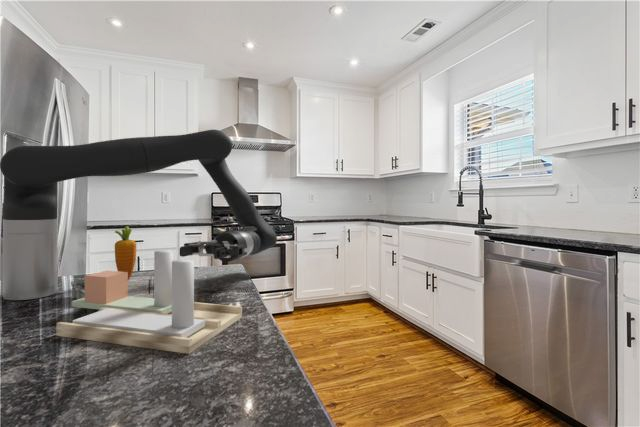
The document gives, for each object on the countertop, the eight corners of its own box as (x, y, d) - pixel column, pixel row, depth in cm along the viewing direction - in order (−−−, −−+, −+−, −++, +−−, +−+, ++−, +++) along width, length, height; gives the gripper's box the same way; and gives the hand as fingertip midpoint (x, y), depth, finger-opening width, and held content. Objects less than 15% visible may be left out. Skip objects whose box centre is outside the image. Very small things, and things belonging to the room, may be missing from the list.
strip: (72, 326, 53) (72, 258, 52) (105, 314, 58) (105, 253, 58) (181, 340, 48) (181, 265, 48) (205, 325, 54) (205, 258, 53)
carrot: (126, 285, 85) (126, 227, 84) (109, 284, 86) (109, 226, 85) (140, 281, 89) (140, 226, 89) (124, 280, 90) (124, 225, 90)
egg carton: (122, 300, 73) (122, 282, 73) (80, 307, 67) (80, 287, 67) (107, 291, 80) (107, 274, 80) (69, 297, 74) (69, 279, 74)
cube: (84, 301, 63) (84, 275, 62) (107, 294, 67) (107, 270, 67) (106, 303, 61) (106, 277, 61) (127, 296, 66) (127, 272, 66)
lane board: (56, 335, 52) (56, 323, 52) (135, 306, 68) (135, 296, 68) (189, 353, 46) (189, 339, 46) (241, 317, 62) (242, 306, 62)
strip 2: (71, 306, 63) (71, 249, 62) (99, 298, 69) (99, 245, 68) (161, 316, 58) (161, 254, 58) (183, 306, 64) (183, 249, 64)
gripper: (210, 230, 89) (170, 234, 74) (259, 232, 86) (227, 237, 70) (210, 257, 89) (169, 267, 74) (258, 261, 86) (227, 272, 70)
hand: (198, 253), depth 72 cm, fingers open, 8 cm apart
